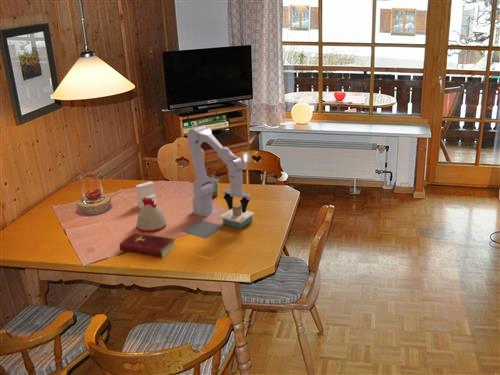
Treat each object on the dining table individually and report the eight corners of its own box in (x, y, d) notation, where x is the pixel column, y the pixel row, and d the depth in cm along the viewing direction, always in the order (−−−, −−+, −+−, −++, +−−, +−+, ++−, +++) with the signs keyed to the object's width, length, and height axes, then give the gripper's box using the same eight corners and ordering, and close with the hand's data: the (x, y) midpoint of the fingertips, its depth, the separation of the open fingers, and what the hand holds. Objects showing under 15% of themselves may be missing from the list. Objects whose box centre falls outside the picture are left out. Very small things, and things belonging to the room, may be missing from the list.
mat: (180, 232, 263) (180, 231, 263) (200, 220, 275) (200, 219, 274) (206, 239, 255) (205, 238, 255) (225, 227, 267) (225, 226, 267)
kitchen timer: (150, 218, 278) (147, 190, 273) (172, 224, 271) (170, 195, 266) (131, 229, 267) (127, 200, 261) (153, 235, 260) (151, 205, 255)
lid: (219, 217, 267) (219, 207, 265) (234, 209, 277) (233, 199, 275) (240, 223, 261) (240, 212, 259) (254, 214, 270) (254, 204, 268)
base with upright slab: (143, 210, 288) (141, 188, 283) (135, 205, 294) (132, 183, 290) (159, 205, 293) (157, 184, 288) (150, 201, 299) (148, 179, 295)
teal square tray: (223, 225, 269) (222, 217, 268) (235, 217, 277) (234, 210, 275) (240, 229, 264) (240, 221, 262) (252, 221, 272) (252, 214, 270)
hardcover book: (162, 259, 240) (161, 250, 238) (120, 251, 247) (119, 243, 246) (175, 246, 250) (175, 238, 249) (134, 240, 257) (134, 231, 256)
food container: (216, 200, 297) (215, 183, 294) (205, 200, 299) (204, 182, 295) (222, 192, 309) (221, 175, 305) (211, 191, 310) (210, 174, 306)
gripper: (218, 183, 264) (219, 210, 269) (244, 189, 256) (245, 216, 261) (227, 178, 269) (228, 205, 274) (253, 184, 262) (253, 211, 267)
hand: (237, 210), depth 268 cm, fingers open, 7 cm apart
